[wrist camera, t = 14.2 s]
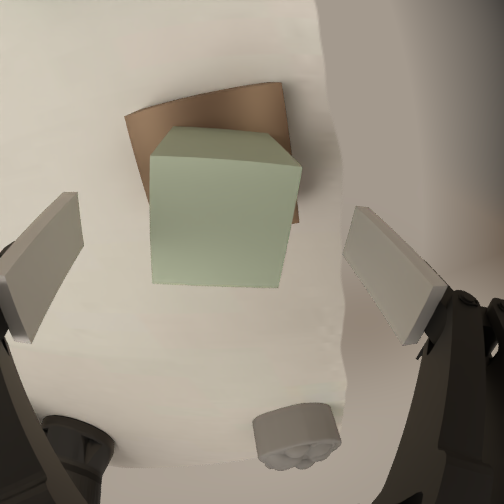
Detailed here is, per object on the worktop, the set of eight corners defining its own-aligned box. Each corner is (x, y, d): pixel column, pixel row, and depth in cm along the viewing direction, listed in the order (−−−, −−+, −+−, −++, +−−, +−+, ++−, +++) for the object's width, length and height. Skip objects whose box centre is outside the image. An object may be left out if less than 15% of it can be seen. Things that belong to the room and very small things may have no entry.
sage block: (169, 213, 21) (152, 283, 14) (173, 126, 18) (150, 155, 11) (255, 217, 22) (278, 288, 15) (268, 133, 19) (302, 167, 12)
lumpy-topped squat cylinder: (247, 416, 45) (254, 464, 37) (327, 393, 44) (342, 440, 37) (264, 438, 50) (271, 478, 43) (332, 419, 49) (345, 458, 42)
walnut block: (171, 220, 27) (164, 250, 22) (140, 109, 21) (124, 116, 17) (284, 197, 27) (299, 222, 23) (267, 82, 22) (281, 82, 17)
